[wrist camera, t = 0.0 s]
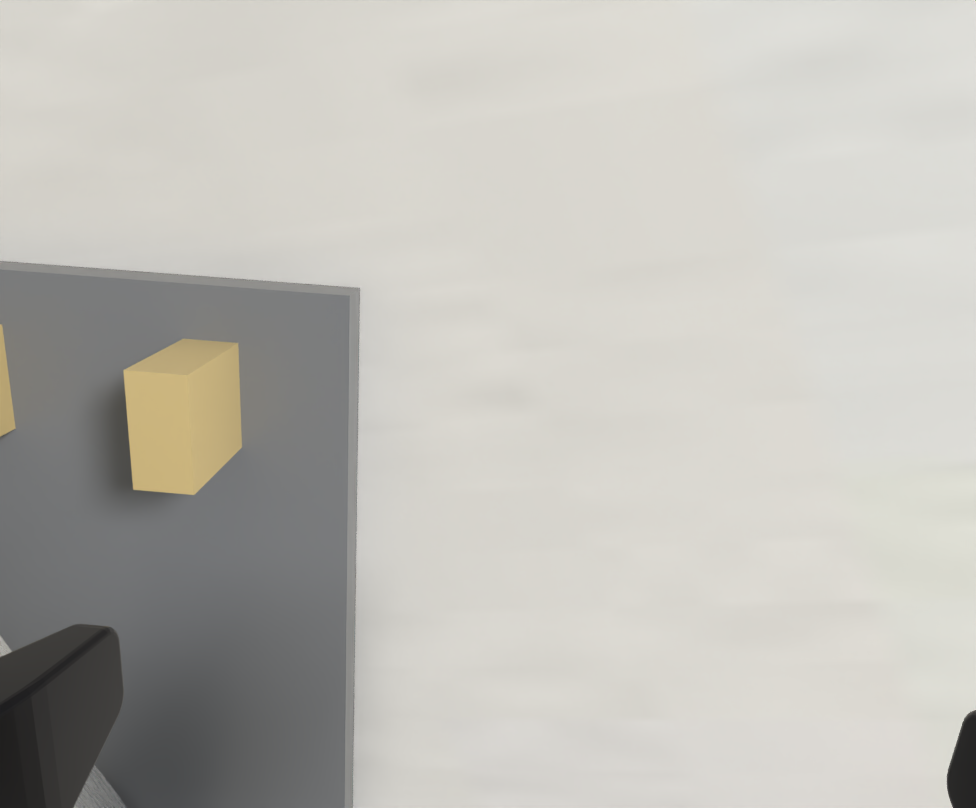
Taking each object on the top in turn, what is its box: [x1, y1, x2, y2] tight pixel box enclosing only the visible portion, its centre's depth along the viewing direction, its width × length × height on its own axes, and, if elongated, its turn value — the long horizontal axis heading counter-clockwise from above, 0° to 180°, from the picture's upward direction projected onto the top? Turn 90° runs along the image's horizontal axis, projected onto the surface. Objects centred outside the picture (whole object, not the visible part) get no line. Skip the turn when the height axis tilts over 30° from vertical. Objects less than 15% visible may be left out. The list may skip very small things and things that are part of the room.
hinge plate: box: [0, 261, 360, 808], centre depth 23 cm, size 24×14×4 cm, turn 176°
